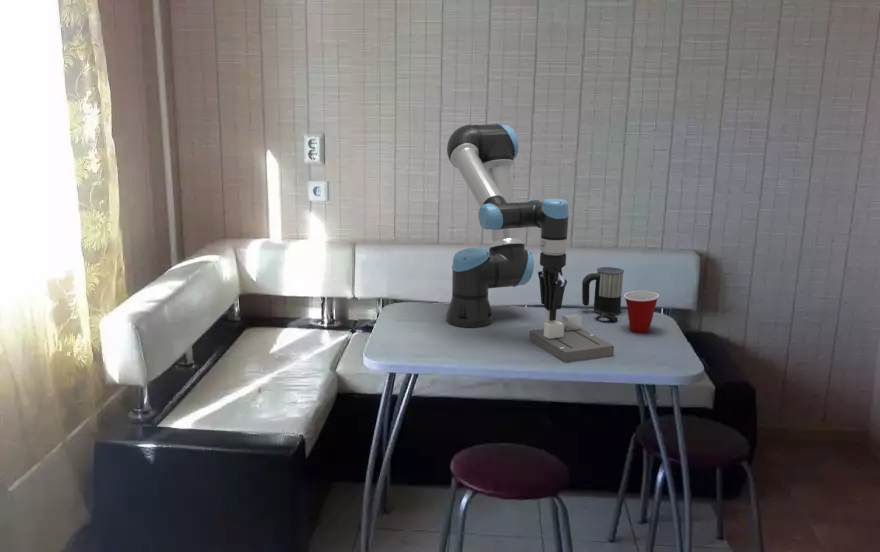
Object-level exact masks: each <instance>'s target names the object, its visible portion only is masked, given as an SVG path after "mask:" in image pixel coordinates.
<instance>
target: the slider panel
mask: <svg viewBox="0 0 880 552" xmlns="http://www.w3.org/2000/svg"><path fill="white" fill-rule="evenodd" d="M528 338H529V341H531V342H532V343H534V344H535V345H537V346H538V347H540V348H541V349H543V350H545V351H547V353H549V354H551V355H553V356H554V357H556V358H558V359H559V360H560V361H563V362H564V363H571V362H572V363H573V362H579V361H585V360H592V359H599V358H607V357H612V356H614V351H615V346H614V345H613V344H612V343H609V342H608V341H606V340H604V339H602V338H601V337H599V336H597V335H595V334H593V333H591V332H589V331H588V330H586V329H584V328H582V327H581V329H577V330H569V331H566V330H565V329H564V337H559V338H551V339H548V338H547V337H545V336H544V328H540V329H539V328H538V329H532V330H529V337H528ZM578 360H579V361H578Z"/></svg>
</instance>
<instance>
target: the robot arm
mask: <svg viewBox="0 0 880 552" xmlns="http://www.w3.org/2000/svg"><path fill="white" fill-rule="evenodd" d="M518 154H519V139H518V136H517V134H516V132H515V130H514V129H513V128H512V126H510V125H508V124H499V123H495V124H494V123H493V124H465V125H463V126H459V127H458V128H457V129H456V130H454V131H453V132H452V134H450V136H449V139H448V141H447V147H446V155H447V158H448V160H449V162H450V164H451V165H452V166H453V167H454V168H455V169H458V171H459V173H460V174H461V176H462V178H463V180H464V182H465V183H466V185H467V187H468V188H469V190H470V192H471V194H472V195H473V197H474V199H475V201H476V202H477V205H478V206H479V209H478V216H477V217H478V222H479V225H480V227H482V228H481V229H484V230H491V238H492V243H491V245H490V246H489V247H488V249H487V248H485V247H471V248H470V247H469V248H464V249H462V250H459V251H457V252H456V253H455V254H454V255H453V259H452V265H451V269H452V284H451V285H452V289H451V290H452V291H451V292H452V293H451V295H452V296H451V300H450V302H449V305H448V308H447V311H446V322H447V323H448V324H450V325H452V326H455V327H461V328H480V327H481V328H482V327H486V326H490V325H491V324H492V323H493V322H494V315H493V311H492V307H491V304H490V301H489V289H497V288H498V289H499V288H508V287H514V288H515V287H519V286H524V285H527V284H528V283H529V282H530V280H531V278H532V277H533V273H534V268H535V262H534V261H535V260H534V256H533V253H532V251H530V250H529V249H527V248H525V242H523V241H522V240H520V237H519V236H520V235H519V229H521V228H522V229H523V228H539V229H540V230H541V231H540V238H541V239H540V244H539V245H540V251H541V252H540V255H539V264H540V266H541V267H542V271H537V274H538V275H537V276H538V279H539V290H540V303H541V305H543V307H544V309H545V310H544V311H545V312H544V313H545V314H544V323H547V322H555V321H557V310H561V309H562V305H563V299H564V294H565V288H566V286H567V284H568V281H567V279H564V278H563V271H562V270H563V268H564V267H565V266H566V265H567V264H566V263H567V254H566V252H568V251H567V247H568V227H569V225H568V224H569V215H570V214H569V212H570V211H569V202H568V201H567V200H566V199H564V198H553V197H552V198H545V199H543V201H540V200H539V199H528V200H526V201H522V202H521V201H519V202H515V197H514V191H513V183H512V176H511V175H512V173H511V166H512V165H513V164H514V159H516V158H517V156H518Z"/></svg>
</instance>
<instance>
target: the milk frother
mask: <svg viewBox="0 0 880 552" xmlns="http://www.w3.org/2000/svg"><path fill="white" fill-rule="evenodd" d="M596 271H597V272H596V273H595V272H594V273H593V272H592V273H588V274H587V275H585V276H584V278H583V279H582V284H581V285H582V288H581V289H582V290H581V291H582V292H581V293H582V295H581V297H582V298H581V299H582V300H581V301H582V302H581V303H582V304H583V306H586V307H587V306H590V284H591V282H593V281H595V288H594V299H593V312H594V313H596V314H598V315H600V316H602V317H603V318H606V319H607V320H609V321H610V322H612V321H613V320H614V321H618V318H619V317H618V316H617V315H621V313H622V310H621V309H622V308H621V306H622V291H623V280H624V279H623V278H624V277H623V276H624V272H625V270H624V269H621V268H619V267H613V266H612V267H611V266H603V267H597V268H596Z"/></svg>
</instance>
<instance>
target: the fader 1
mask: <svg viewBox="0 0 880 552" xmlns="http://www.w3.org/2000/svg"><path fill="white" fill-rule="evenodd" d="M543 329H544V336H545V337H547V338H548V339H551V338H559V337H564V324H563V323H562V321H559V320H558V321H557V320H556V321H555V322H547V323H545V322H544V323H543Z"/></svg>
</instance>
